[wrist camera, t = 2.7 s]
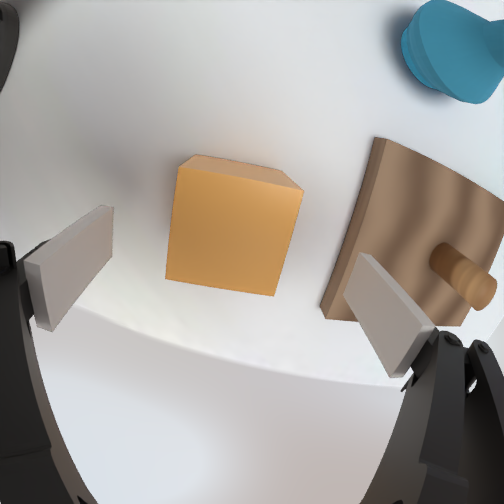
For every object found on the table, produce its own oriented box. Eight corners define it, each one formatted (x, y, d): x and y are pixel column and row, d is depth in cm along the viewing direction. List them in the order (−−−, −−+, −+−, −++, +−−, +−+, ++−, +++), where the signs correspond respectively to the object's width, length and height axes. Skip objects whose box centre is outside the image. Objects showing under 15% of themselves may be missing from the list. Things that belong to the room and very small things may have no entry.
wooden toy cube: (183, 235, 22) (165, 279, 16) (195, 154, 20) (178, 166, 13) (262, 248, 23) (273, 296, 17) (281, 171, 21) (304, 191, 14)
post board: (319, 306, 26) (350, 376, 18) (374, 137, 20) (447, 150, 12) (452, 317, 29) (489, 361, 21) (501, 202, 23) (555, 230, 15)
